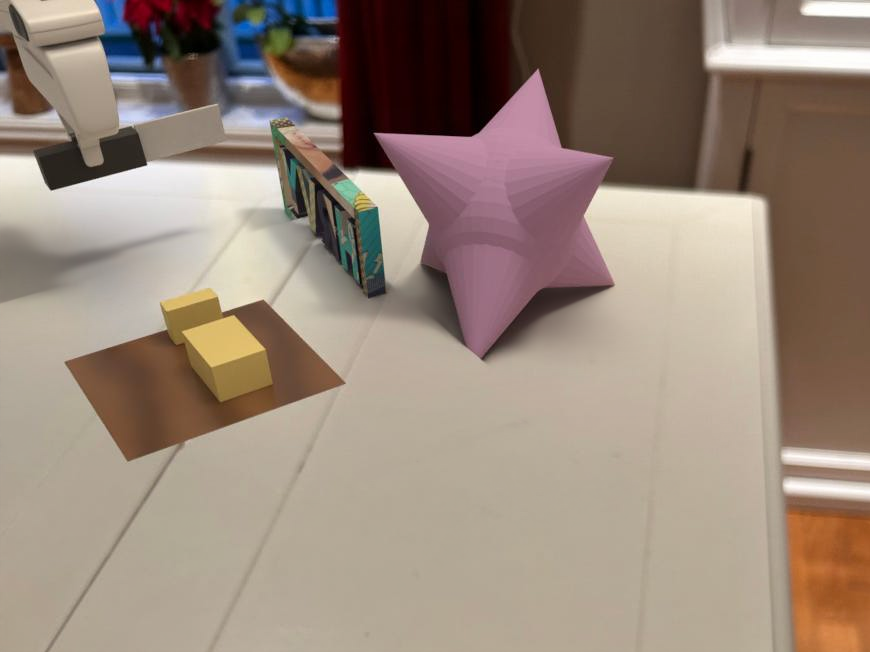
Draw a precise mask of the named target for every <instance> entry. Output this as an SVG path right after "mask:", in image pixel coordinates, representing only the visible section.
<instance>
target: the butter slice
mask: <svg viewBox="0 0 870 652" xmlns="http://www.w3.org/2000/svg"><path fill="white" fill-rule="evenodd" d="M159 305H160V309H161V312H162V316H163V320H164V323H165V326H166V330H168V333H169V336H170V338H171V339H172V340H173V342H174V343H175V344H176V345H179V344H182V343H185V342H184V339H183V335H182V331H185V330H188V329H191V328H194V327H198V326H201V325H204V324H207V323H210V322H213V321H217V320H220V319H223V315H222V312H223V311H222V307H221V303H220V299H219V296H218V295H217V294H216V292H215V291H214V290H213V288H212V287H207V288H203V289H201V290H197V291H193V292H191V293H187V294H184V295H180V296H176V297H173V298H170V299H166V300H163V301H160V302H159Z"/></svg>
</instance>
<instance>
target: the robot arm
mask: <svg viewBox="0 0 870 652" xmlns="http://www.w3.org/2000/svg"><path fill="white" fill-rule="evenodd" d="M0 29H2V30H5V31H10V33H12V37H13V39H14V42H15V44H16V45H15V46H16V48H17V51H18V54H19V58H20V61H21V64H22V67H23V69H24V72H25V74H26V77H27V79H28V80H29V82H30V84H32V85H33V87H34V88H35V89H36V90H37V91H38V92H39V94H41V95H42V96H43V97H44V99H45V100H46V101H47V102H48V103H49V104H50V105H51V106H52V108H53V109H54V110H55V112H56V114H57V116H58V118H59V120H60V122H61V124H62V127H63V129H64V131H65V133H66V135H67V138H68V142H69V141H73V140H77V142H78V144H77V146H78V149H79V152H80V154H81V158H82V160H83V161H84V162H85V164H86V165H87V166H89V167H93V166H97V165H101V164H102V163H103V162H104V159H103V156H102V152H101V149H100V144H99V138H104V137H107V136H111V135H115V134H117V133H118V131H119V129H120V116H119V115H120V114H119V110H118V105H117V101H116V96H115V91H114V85H113V81H112V77H111V72H110V68H109V64H108V60H107V56H106V52H105V49H104V45H103V43H102V40H101V39H100V37H99V36H103V35H105V33H106V28H105V24H104V20H103V16H102V13H101V10H100V8H99V6H98V5H97V2H96V1H95V0H0Z"/></svg>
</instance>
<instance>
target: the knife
mask: <svg viewBox="0 0 870 652" xmlns="http://www.w3.org/2000/svg"><path fill="white" fill-rule="evenodd" d="M225 142H227V137H226V132H225V128H224V123H223V119H222V115H221V110H220V105H219V103H214V104H210V105H205V106H202V107H201V106H200V107H198V108H193V109H190V110H189V109H188V110H186V111H181V112H177V113H174V114H169V115H165V116H161V117H158V118H157V117H156V118H154V119H149V120H145V121H141V122H137V123H133V126H132V125H130V126H126V127H121V128H119V131H118V133H117V134H115V135H111V136H107V137H104V138H99V144H100V149H101V152H102V156H103V159H104V162H103V163H102V164H101V165H97V166H93V167H89V166H87V165H86V164H85V162H84V161H83V160H82V158H81V154H80V152H79V149H78V146H77V144H78V142H77V140H73V141H69V140H68V141H66V142H65V141H64V142H62V143H57V144H54V145H49V146H45V147H41V148H38V149H33V150H32V152H33V155H34V158H35V160H36V163H37V166H38V168H39V172H40V174H41V176H42V179H43V181H44V184H45V185H46V186H47V188H48V189H49V191H51V192H52V191H56V190H60V189H64V188H67V187H71V186H75V185H79V184H82V183H86V182H91V181H94V180H98V179H101V178H105V177H108V176H114V175H117V174H120V173H124V172H128V171H132V170H136V169H139V168H143V167H147V166H148V162H153V161H157V160H160V159H164V158H167V157H171V156H175V155H179V154H182V153H187V152H191V151H194V150H195V151H196V150H198V149H202V148H206V147H210V146H214V145H217V144H222V143H225Z"/></svg>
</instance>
